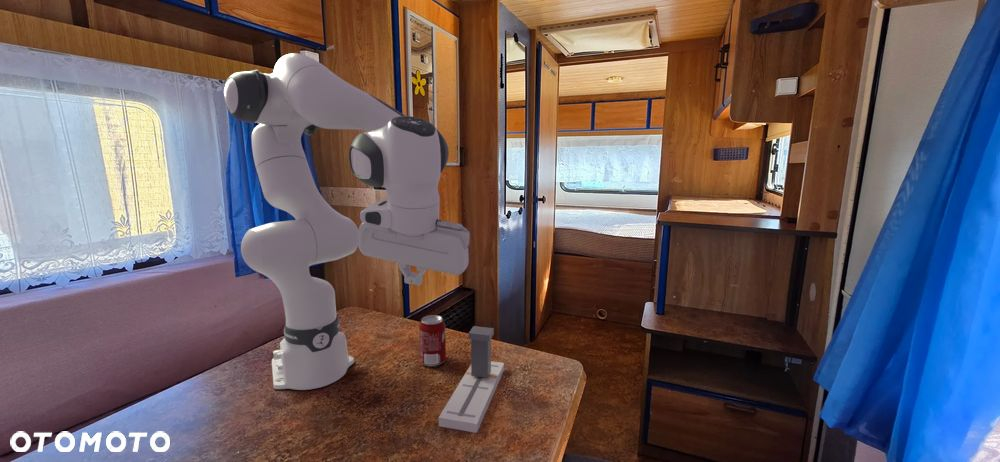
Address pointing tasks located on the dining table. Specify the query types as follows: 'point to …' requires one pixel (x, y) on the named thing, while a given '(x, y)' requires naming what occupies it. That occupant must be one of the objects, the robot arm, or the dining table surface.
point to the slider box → (471, 400)
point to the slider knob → (481, 351)
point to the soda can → (432, 340)
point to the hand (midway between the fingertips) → (413, 283)
